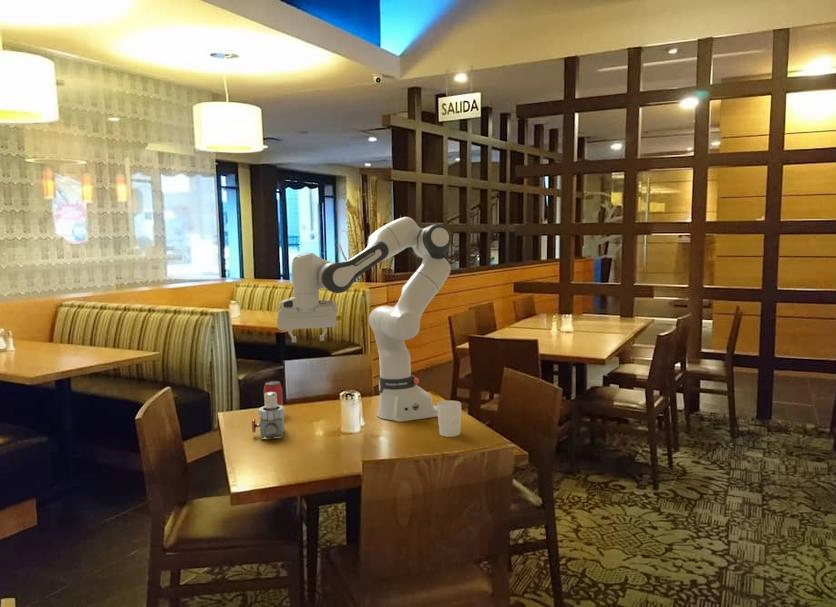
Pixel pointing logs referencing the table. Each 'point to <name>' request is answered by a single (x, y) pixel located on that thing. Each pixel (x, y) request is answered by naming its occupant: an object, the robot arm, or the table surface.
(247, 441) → the table surface
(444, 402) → the white cup
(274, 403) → the pipe nipple
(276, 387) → the beer can
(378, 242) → the robot arm
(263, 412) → the valve body
